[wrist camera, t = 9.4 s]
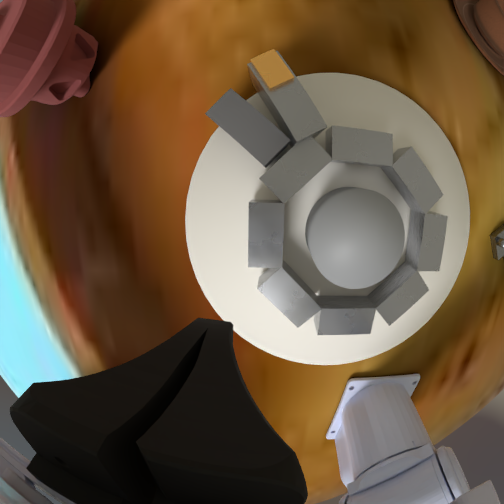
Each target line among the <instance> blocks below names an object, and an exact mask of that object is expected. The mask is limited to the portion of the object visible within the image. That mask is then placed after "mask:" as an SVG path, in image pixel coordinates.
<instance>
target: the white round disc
mask: <svg viewBox="0 0 504 504" xmlns="http://www.w3.org/2000/svg"><path fill="white" fill-rule="evenodd" d="M296 77H297V79H298V80H299V82H300V83H301V85H302V86H303V88H304V89H305V91H306V92H307V94H308V95H309V97H310V98H311V100H312V102H313V103H314V105H315V106H316V108H317V110H318V111H319V113H320V115H321V116H322V118H323V120H324V121H325V123H326V125H327V128H326V129H325V130H323V131H322V132H321V133H320V134H319V135H318V136H317V137H315V138H314V139H315V140H316V141H317V142H318V144H319V145H320V146H321V147H322V148H323V149H324V150H325V151H326V130H327V129H329V128H330V127H331V126H342V127H351V128H358V129H366V130H372V131H379V132H385V133H390V134H393V153H394V152H395V151H396V150H398V149H400V148H405V147H411V146H412V148H413V149H414V150H415V152H416V153H417V154H418V156H419V157H420V159H421V160H422V162H423V163H424V165H425V166H426V168H427V169H428V171H429V172H430V174H431V175H432V177H433V178H434V180H435V181H436V183H437V185H438V186H439V188H440V190H441V191H442V193H443V196H442V197H441V198H440V199H439V200H438V201H437V202H436V203H435V204H434V206H433V207H432V208H431V209H430V210H429V211H431V212H436V213H439V214H443V215H446V216H448V219H447V228H446V235H445V242H444V248H443V254H442V260H441V265H440V270H439V271H418V272H419V274H420V275H421V277H422V279H423V280H424V282H425V284H426V285H427V287H428V289H429V291H428V292H427V293H426V294H425V295H424V296H422V297H421V298H420V299H419V300H418V301H417V302H416V303H415V304H414V305H413V306H412V307H411V308H410V309H408V310H407V311H406V312H405V313H404V314H403V315H402V316H401V317H399V318H398V319H397V320H396V321H395V322H394V323H392V324H391V325H390V326H389V325H388V324H387V323H386V321H385V320H384V319H383V318H382V316H381V315H380V314H379V312H378V311H377V310H376V312H375V316H374V321H373V325H372V329H371V334H357V335H317V332H316V327H315V323H314V316H313V317H311V318H310V319H309V320H308V321H306V322H305V323H304V324H302V325H301V326H300V327H298V328H297V327H296V326H295V325H294V324H293V323H292V322H291V321H290V320H289V319H288V318H287V317H286V316H285V315H284V314H283V313H282V312H281V311H280V310H279V309H278V308H277V307H276V306H274V305H273V304H272V303H271V302H270V301H269V300H268V299H267V298H266V297H265V296H264V295H263V294H262V293H261V292H260V291H259V290H258V289H257V286H258V280H259V277H260V276H261V275H262V274H263V273H264V272H265V271H266V270H267V269H269V268H257V267H248V219H249V201H250V200H251V199H253V200H280V199H279V198H278V197H277V196H276V195H275V194H274V193H273V192H272V191H271V190H270V189H269V188H268V187H267V186H266V185H265V184H264V183H263V182H262V181H261V180H260V179H259V178H260V177H261V176H262V175H263V174H264V173H265V172H266V171H267V170H268V169H269V168H271V167H272V166H273V165H274V164H275V163H276V162H277V161H278V160H279V159H280V158H281V157H282V156H283V155H285V154H286V153H287V152H288V151H289V150H290V149H291V147H290V145H289V142H290V139H289V138H288V137H287V136H286V135H285V134H284V133H282V131H281V130H280V128H279V126H278V125H277V123H276V121H275V120H274V118H273V116H272V115H271V113H270V112H269V110H268V108H267V107H266V105H265V104H264V102H263V101H262V99H261V97H260V96H259V94H258V93H256V94H255V95H253V96H252V97H250V98H249V99H247V100H245V99H243V98H242V97H241V96H240V95H238V94H237V93H236V92H235V91H233V90H232V89H231V88H230V89H229V90H228V91H227V92H226V93H225V94H224V95H223V96H222V97H221V98H220V99H219V100H218V101H217V102H216V103H215V104H214V105H213V106H212V107H211V108H210V109H209V110H208V111H207V112H206V113H205V114H206V115H207V116H208V117H209V118H211V119H212V120H213V121H214V122H215V123H216V124H217V125H219V127H218V128H217V130H216V131H215V132H214V134H213V135H212V136H211V138H210V139H209V141H208V143H207V145H206V146H205V148H204V150H203V152H202V153H201V155H200V157H199V160H198V162H197V165H196V168H195V170H194V173H193V175H192V179H191V183H190V187H189V192H188V196H187V205H186V216H185V222H186V240H187V245H188V251H189V256H190V260H191V263H192V266H193V269H194V272H195V275H196V278H197V280H198V282H199V284H200V286H201V288H202V290H203V292H204V294H205V296H206V298H207V299H208V301H209V302H210V304H211V305H212V307H213V308H214V310H215V311H216V312H217V313H218V314H219V316H220V317H221V318H222V319H223V320H224V321H228V322H231V323H232V324H233V330H234V331H235V332H236V333H238V334H239V335H240V336H241V337H242V338H244V339H245V340H247V341H248V342H250V343H251V344H253V345H254V346H256V347H258V348H260V349H262V350H264V351H266V352H268V353H270V354H272V355H275V356H278V357H281V358H284V359H287V360H290V361H295V362H300V363H305V364H315V365H337V364H345V363H351V362H356V361H360V360H364V359H367V358H371V357H373V356H376V355H378V354H381V353H383V352H385V351H388V350H389V349H391V348H393V347H395V346H397V345H398V344H400V343H402V342H403V341H405V340H406V339H407V338H409V337H410V336H412V335H413V334H414V333H416V332H417V331H418V330H419V329H420V328H421V327H422V326H423V325H424V324H425V323H427V322H428V320H429V319H430V318H431V317H432V316H433V315H434V314H435V312H436V311H437V310H438V309H439V308H440V306H441V305H442V303H443V302H444V300H445V299H446V297H447V296H448V294H449V293H450V291H451V289H452V287H453V285H454V283H455V281H456V279H457V277H458V274H459V272H460V269H461V267H462V264H463V260H464V257H465V253H466V249H467V244H468V237H469V230H470V206H469V196H468V190H467V186H466V181H465V177H464V174H463V171H462V168H461V165H460V162H459V160H458V157H457V155H456V153H455V151H454V149H453V147H452V146H451V144H450V142H449V140H448V139H447V137H446V136H445V134H444V133H443V131H442V130H441V129H440V127H439V126H438V125H437V124H436V122H435V121H434V120H433V119H432V118H431V117H430V116H429V115H428V114H427V112H425V111H424V110H423V109H422V108H421V107H420V106H419V105H417V104H416V103H415V102H414V101H413V100H411V99H410V98H408V97H407V96H405V95H404V94H402V93H400V92H399V91H397V90H396V89H394V88H391V87H389V86H387V85H385V84H383V83H380V82H378V81H375V80H372V79H369V78H365V77H362V76H358V75H351V74H344V73H314V74H308V75H302V76H296ZM410 215H411V209H410V207H409V206H408V205H407V203H406V202H405V200H404V199H403V197H402V196H401V194H400V193H399V192H398V190H397V189H396V188H395V186H394V185H393V183H392V182H391V181H390V179H389V178H388V177H387V175H386V174H385V173H384V172H383V170H382V169H381V168H380V167H375V166H367V165H358V164H348V163H337V162H329V163H328V164H327V165H326V166H325V167H324V168H323V169H322V170H321V171H320V172H319V173H317V174H316V175H315V176H314V177H313V178H312V179H311V180H310V181H309V182H308V183H307V184H305V185H304V186H303V187H302V188H301V189H300V190H299V191H298V192H297V193H296V194H295V195H294V196H293V197H291V198H290V199H289V200H288V201H287V202H286V203H285V208H284V237H283V260H284V261H285V262H286V263H287V264H288V265H289V266H290V267H291V269H292V270H293V271H294V272H295V273H296V274H297V275H298V276H299V277H300V278H301V279H302V280H303V281H304V282H305V283H306V284H307V285H308V286H309V287H310V288H311V289H312V291H313V292H314V293H315V294H316V295H317V296H367V295H368V294H370V293H371V292H372V291H373V290H374V289H375V288H376V287H378V286H379V285H380V284H381V283H382V282H383V281H384V280H385V279H386V278H388V277H389V276H390V275H391V274H392V273H393V272H394V271H395V270H396V269H397V268H398V267H399V266H400V265H401V264H403V263H404V262H405V256H406V249H407V242H408V234H409V225H410Z"/></svg>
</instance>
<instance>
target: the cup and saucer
mask: <svg viewBox="0 0 504 504" xmlns="http://www.w3.org/2000/svg"><path fill="white" fill-rule="evenodd" d="M453 2H454V6H455V9H456V11H457V14H458V16H459V19H460V21H461V23H462V25H463V26H464V28H465V30H466V31H467V33H468V35H469V36H470V38H471V39H472V41H473V42H474V44H475V45H476V46H477V48H478V49H479V50H480V51H481V53H482V54H483V55H484V56H485V58H486V59H487V60H488V61H489V62H490V63H491V64H492V65H493V66H494V67H495V68H496V69H497V70H498V71H499V72H500V73H501V74H502V75H504V0H453Z"/></svg>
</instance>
